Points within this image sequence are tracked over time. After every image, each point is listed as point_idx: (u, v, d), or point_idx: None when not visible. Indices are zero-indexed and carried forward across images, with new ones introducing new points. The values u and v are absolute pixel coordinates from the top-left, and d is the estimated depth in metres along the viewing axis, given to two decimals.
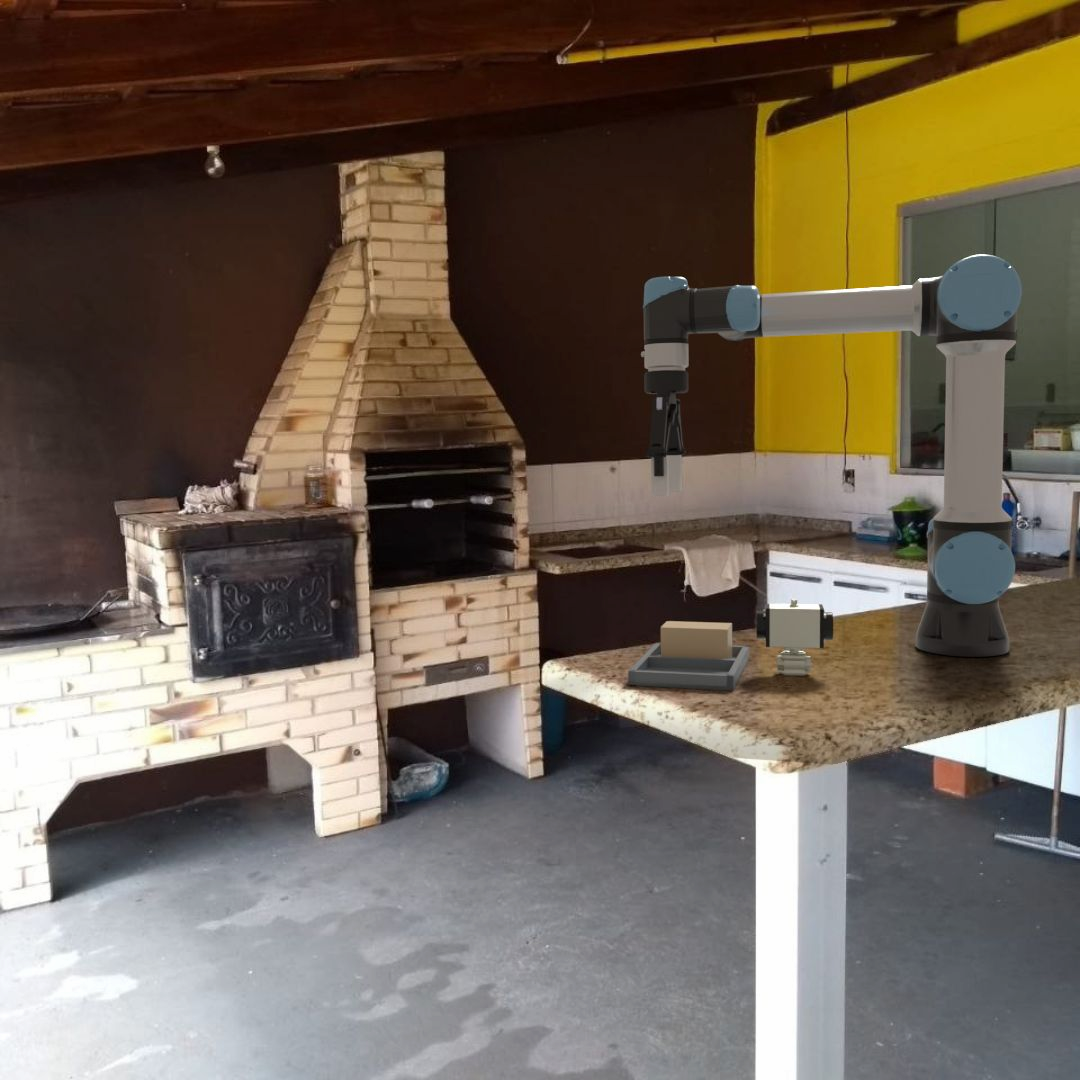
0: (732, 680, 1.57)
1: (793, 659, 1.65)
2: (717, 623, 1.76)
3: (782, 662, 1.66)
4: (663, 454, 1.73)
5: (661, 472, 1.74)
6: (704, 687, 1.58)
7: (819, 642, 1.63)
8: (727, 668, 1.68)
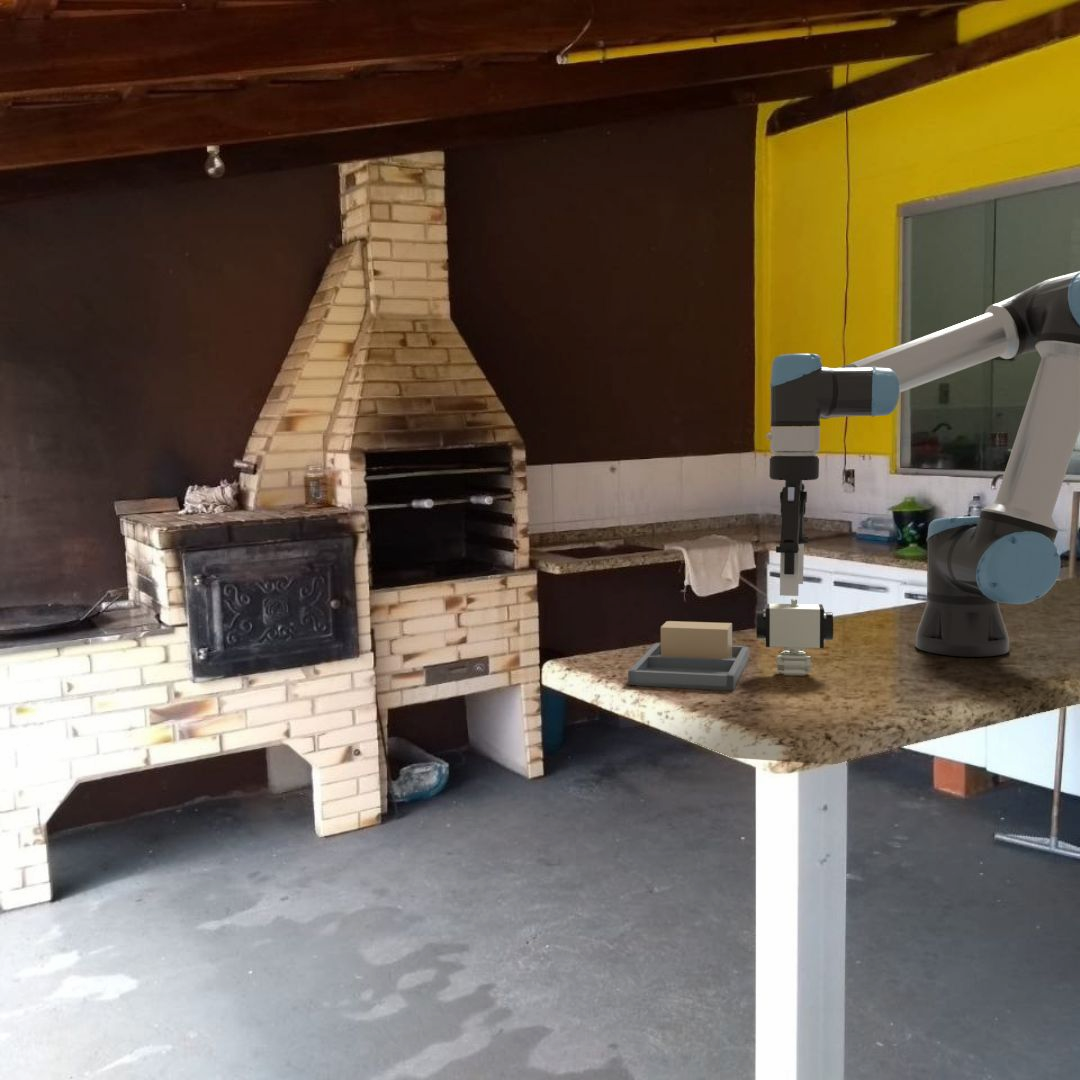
0: (732, 680, 1.57)
1: (793, 659, 1.65)
2: (717, 623, 1.76)
3: (782, 662, 1.66)
4: (795, 550, 1.57)
5: (792, 570, 1.57)
6: (704, 687, 1.58)
7: (819, 642, 1.63)
8: (727, 668, 1.68)
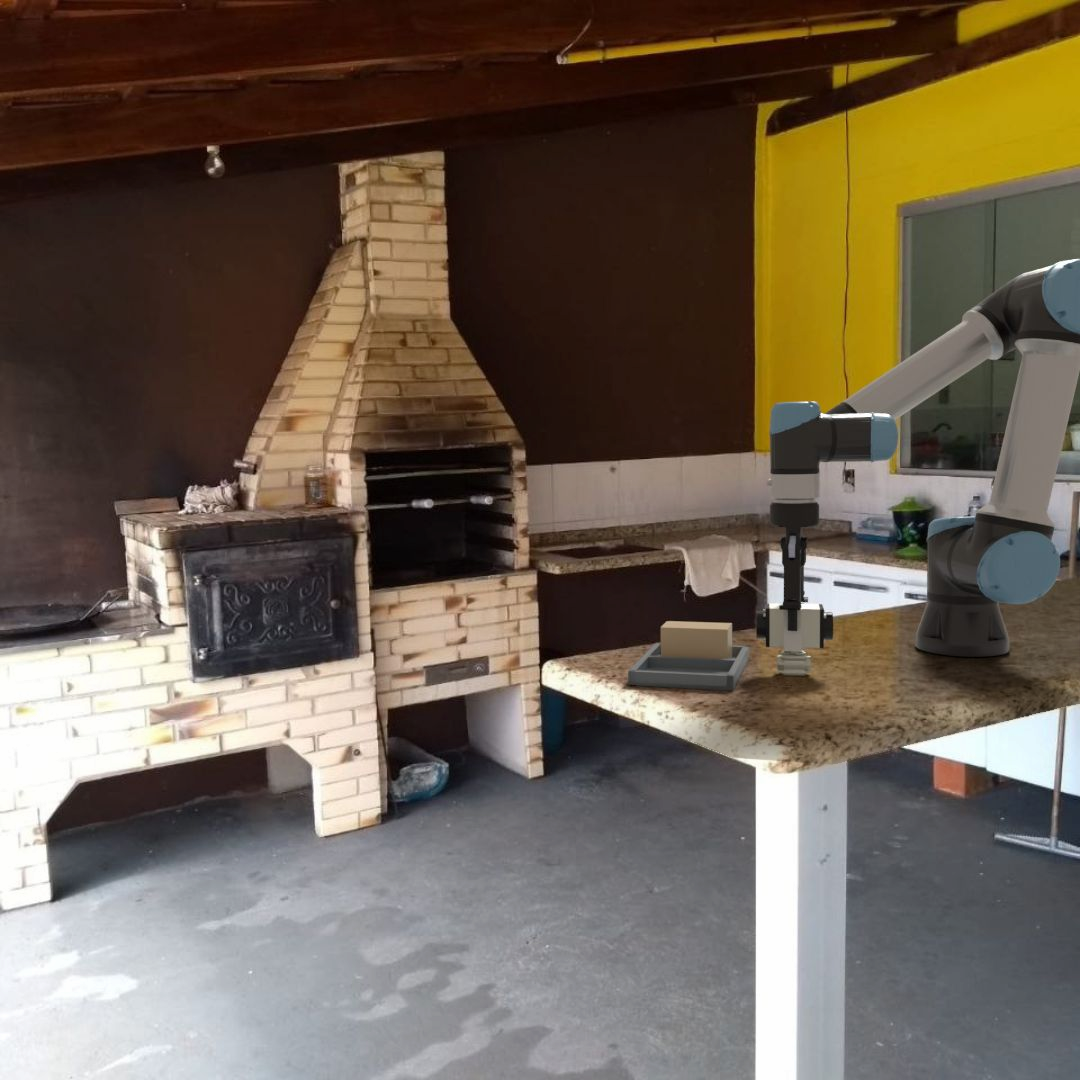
0: (732, 680, 1.57)
1: (793, 659, 1.65)
2: (717, 623, 1.76)
3: (782, 662, 1.66)
4: (798, 608, 1.61)
5: (795, 627, 1.62)
6: (704, 687, 1.58)
7: (819, 642, 1.63)
8: (727, 668, 1.68)
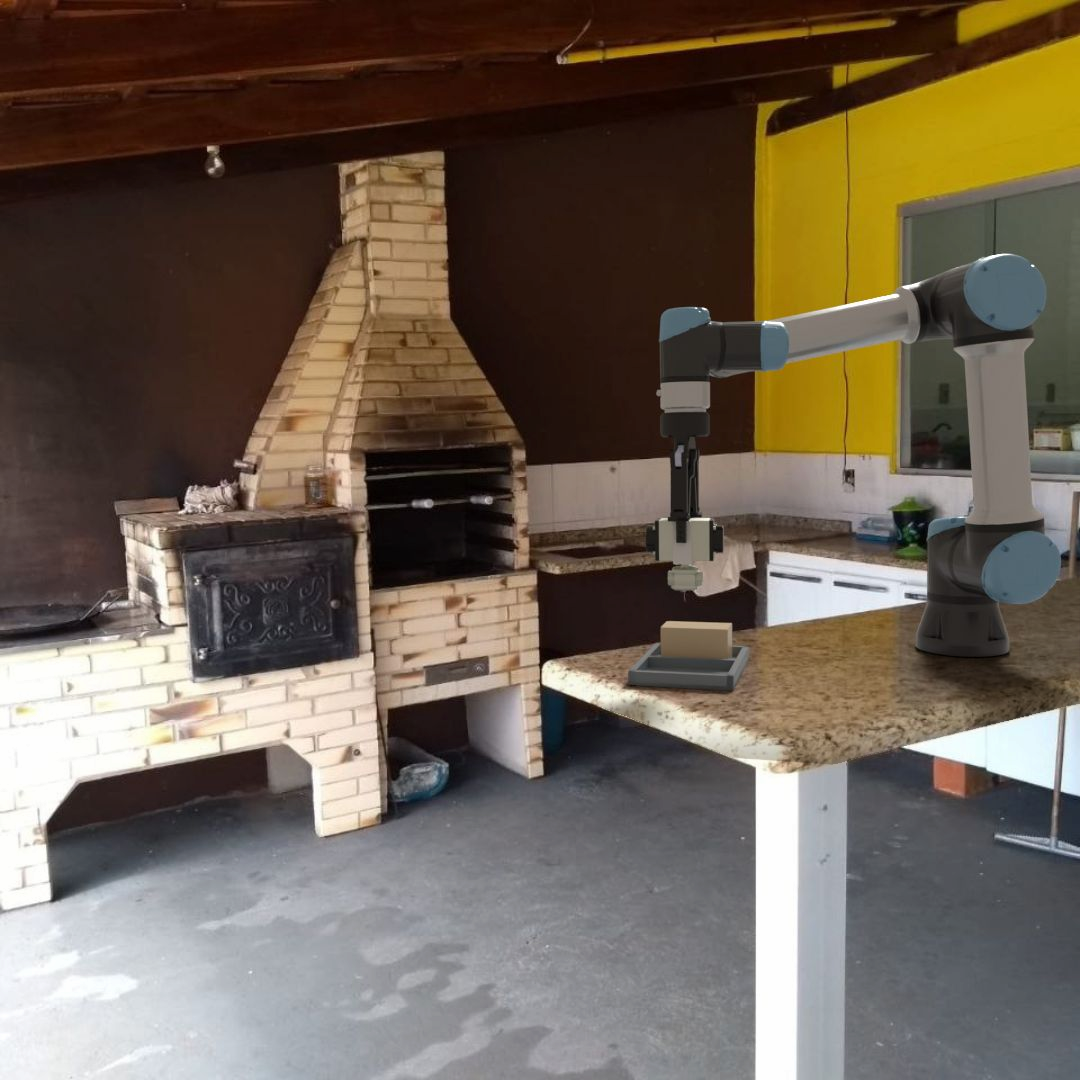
0: (732, 680, 1.57)
1: (683, 573, 1.61)
2: (717, 623, 1.76)
3: (673, 576, 1.62)
4: (686, 519, 1.58)
5: (684, 538, 1.58)
6: (704, 687, 1.58)
7: (709, 555, 1.59)
8: (727, 668, 1.68)
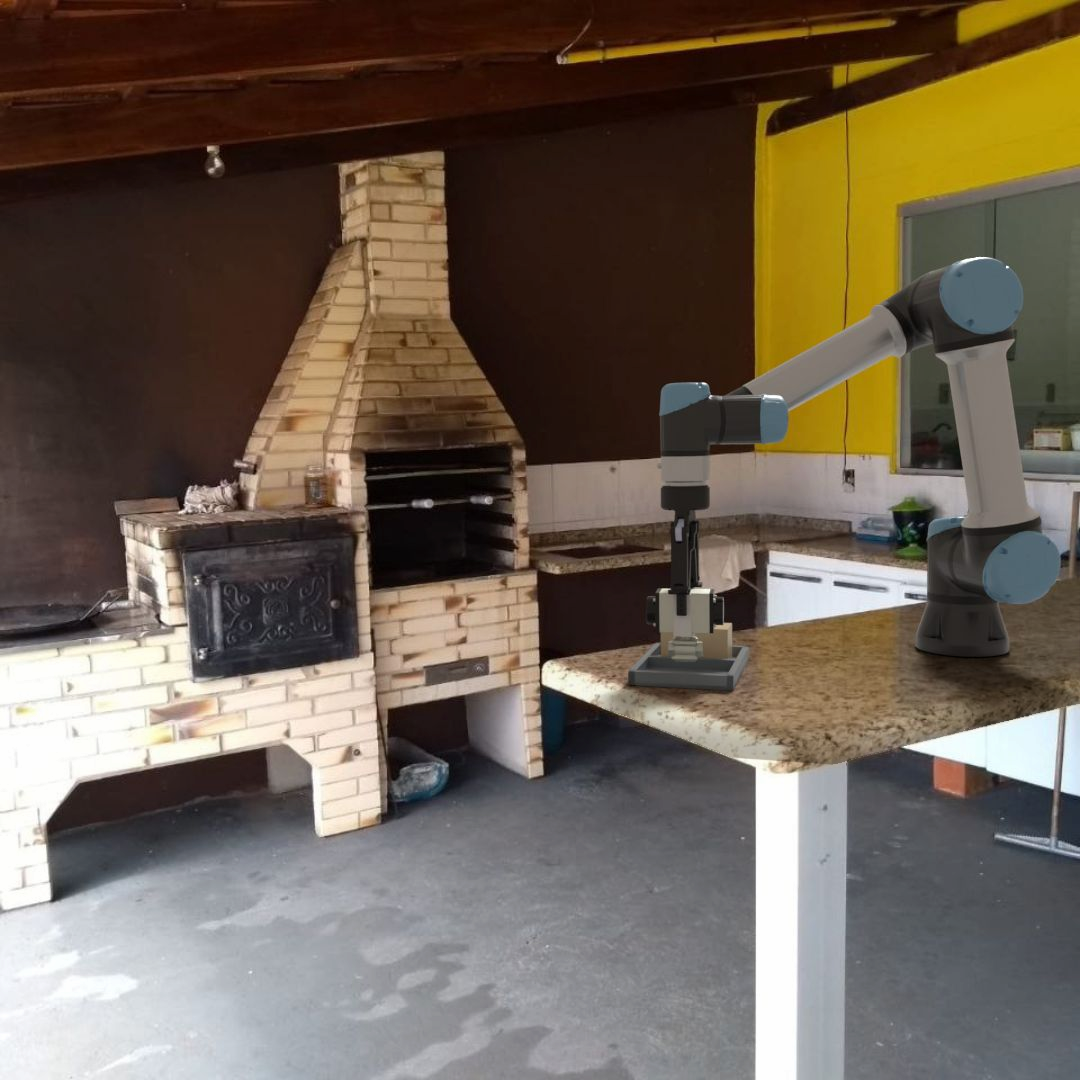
0: (732, 680, 1.57)
1: (684, 644, 1.62)
2: None
3: (673, 647, 1.63)
4: (686, 592, 1.59)
5: (684, 612, 1.59)
6: (704, 687, 1.58)
7: (709, 627, 1.60)
8: (727, 668, 1.68)
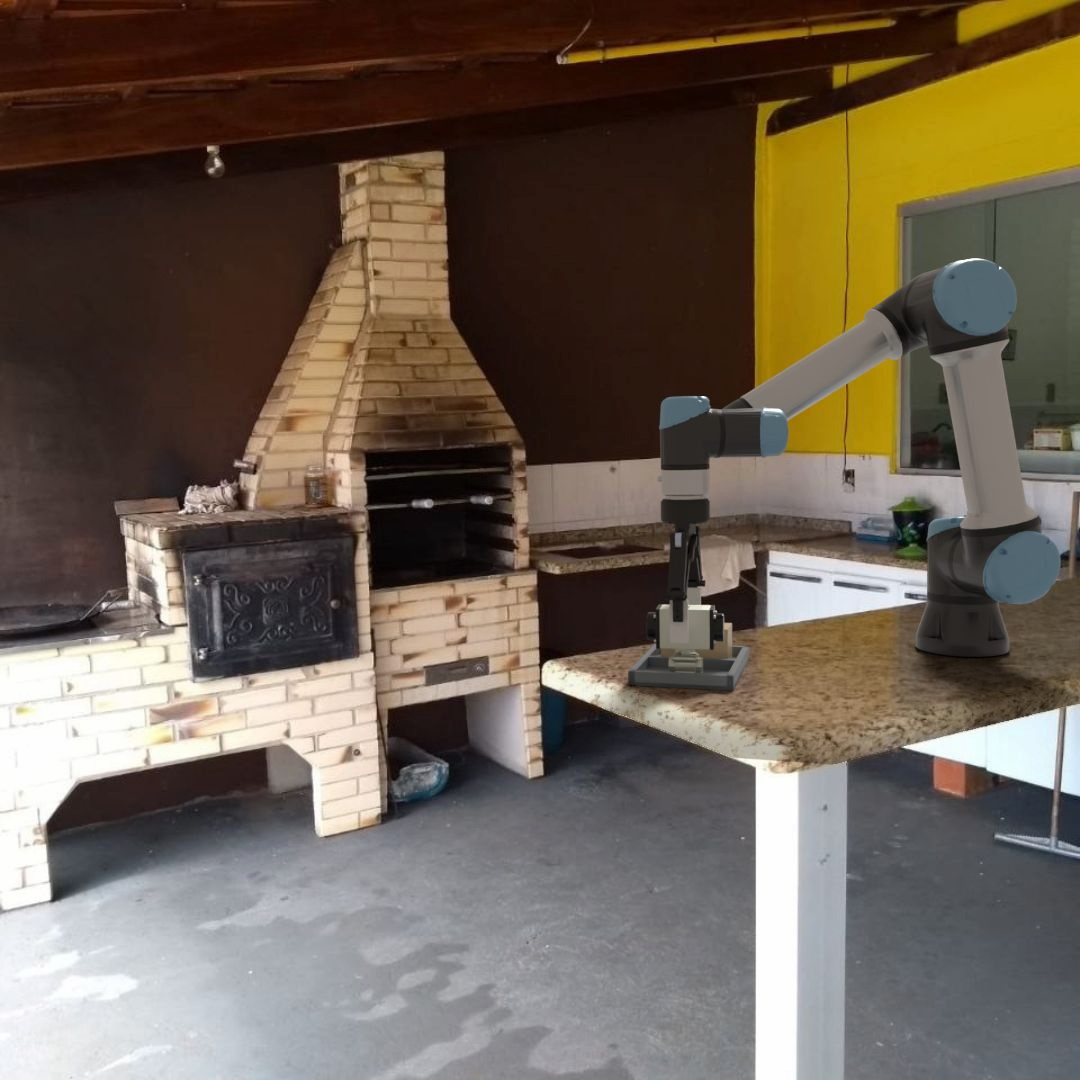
0: (732, 680, 1.57)
1: (684, 661, 1.62)
2: None
3: (674, 664, 1.64)
4: (683, 598, 1.56)
5: (681, 618, 1.56)
6: (704, 687, 1.58)
7: (709, 643, 1.61)
8: (727, 668, 1.68)
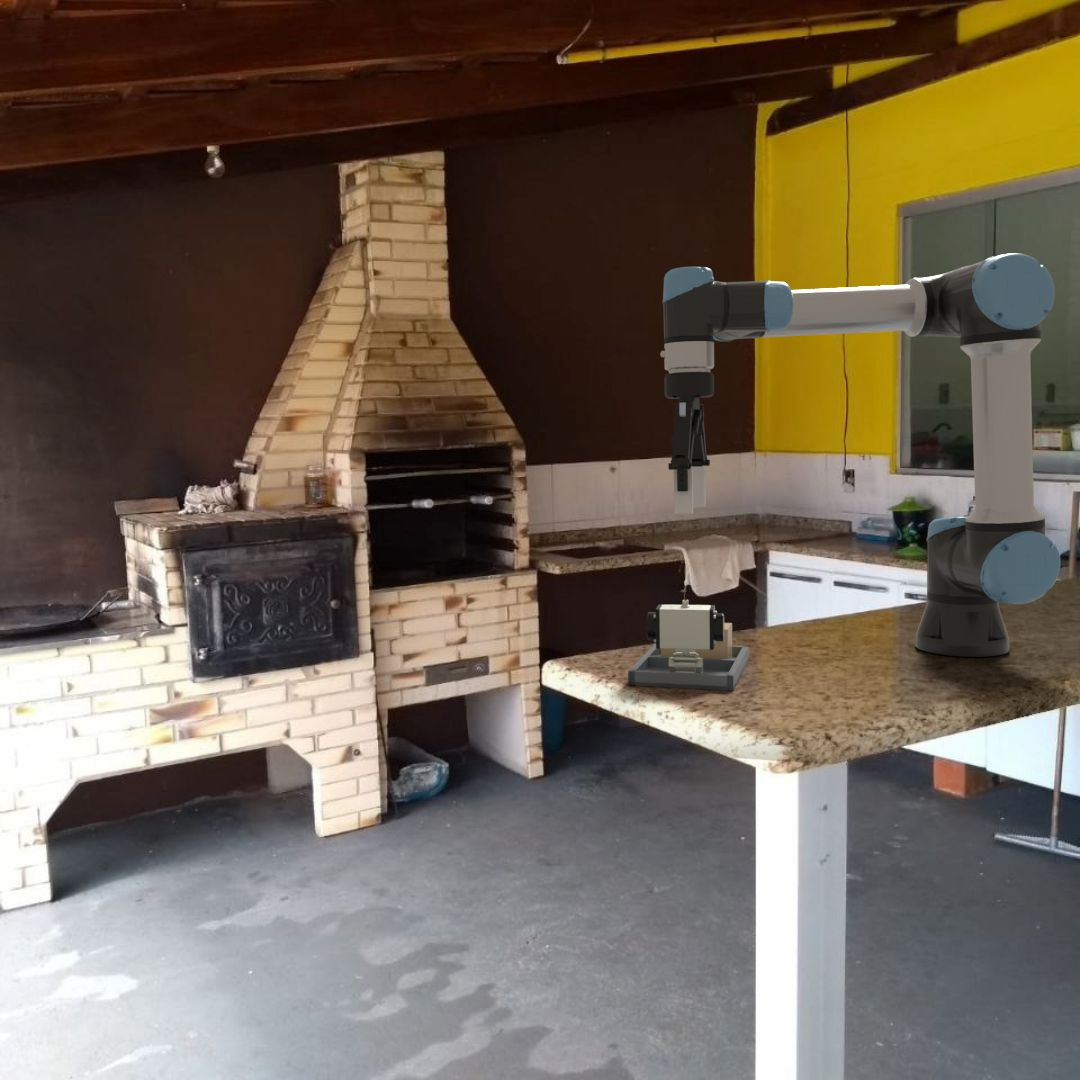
0: (732, 680, 1.57)
1: (684, 661, 1.62)
2: None
3: (674, 664, 1.64)
4: (687, 466, 1.54)
5: (685, 487, 1.54)
6: (704, 687, 1.58)
7: (709, 643, 1.61)
8: (727, 668, 1.68)
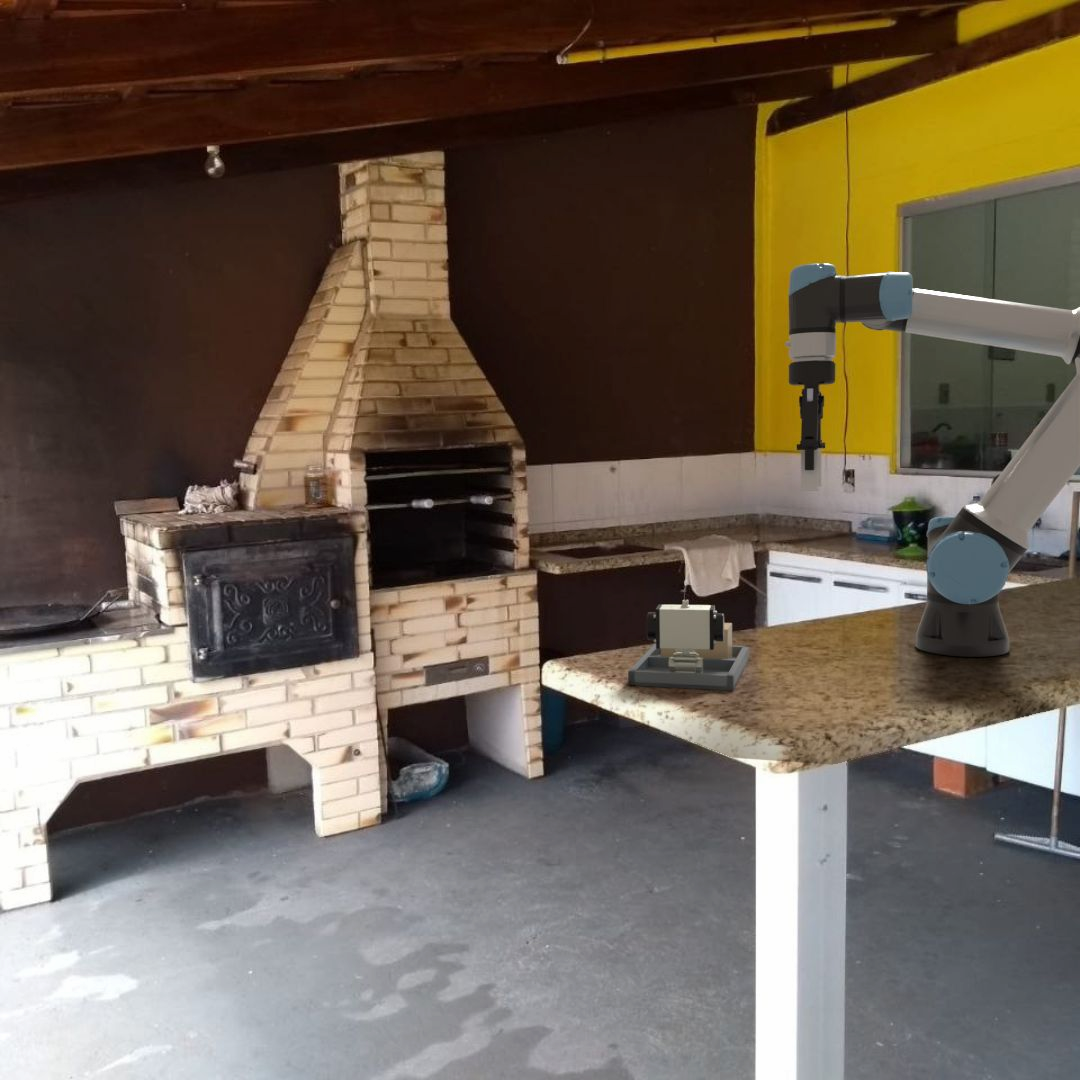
0: (732, 680, 1.57)
1: (684, 661, 1.62)
2: None
3: (674, 664, 1.64)
4: (815, 447, 1.67)
5: (812, 466, 1.68)
6: (704, 687, 1.58)
7: (709, 643, 1.61)
8: (727, 668, 1.68)
